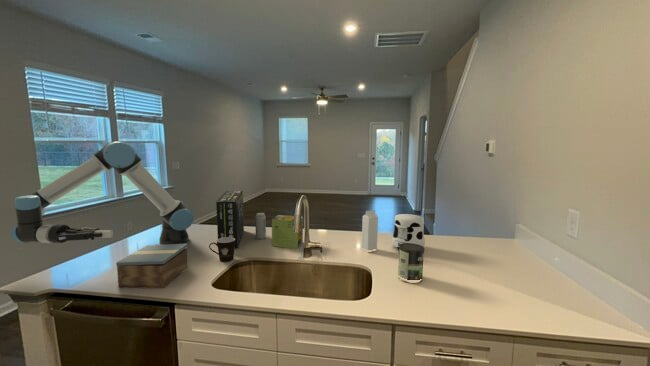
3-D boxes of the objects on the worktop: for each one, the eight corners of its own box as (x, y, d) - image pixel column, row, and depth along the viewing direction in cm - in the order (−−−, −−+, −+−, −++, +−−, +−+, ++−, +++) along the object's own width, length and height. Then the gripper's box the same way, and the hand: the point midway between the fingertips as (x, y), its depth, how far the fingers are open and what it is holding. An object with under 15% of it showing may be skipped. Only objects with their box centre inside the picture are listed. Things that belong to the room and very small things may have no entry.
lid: (116, 265, 116) (116, 262, 116) (147, 247, 136) (147, 244, 136) (163, 263, 116) (163, 260, 116) (188, 246, 136) (187, 243, 136)
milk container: (419, 244, 175) (420, 213, 172) (428, 254, 157) (430, 221, 155) (389, 243, 175) (390, 213, 173) (395, 254, 158) (396, 220, 156)
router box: (226, 231, 195) (225, 190, 191) (244, 230, 197) (243, 190, 193) (216, 250, 160) (215, 200, 157) (238, 249, 162) (237, 200, 159)
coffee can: (425, 276, 131) (427, 245, 129) (418, 286, 122) (420, 252, 120) (402, 271, 136) (403, 241, 134) (394, 279, 127) (395, 247, 126)
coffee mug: (239, 257, 150) (238, 238, 148) (228, 264, 142) (227, 243, 140) (219, 254, 153) (219, 235, 152) (208, 260, 145) (207, 240, 144)
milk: (361, 249, 164) (362, 210, 161) (370, 248, 167) (371, 209, 164) (367, 253, 159) (368, 212, 156) (377, 251, 161) (378, 211, 159)
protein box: (298, 248, 165) (298, 220, 163) (271, 246, 168) (271, 219, 166) (303, 242, 175) (303, 216, 173) (278, 240, 178) (278, 214, 176)
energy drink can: (257, 236, 185) (256, 212, 183) (266, 236, 185) (266, 212, 183) (254, 239, 179) (254, 214, 177) (264, 239, 179) (264, 215, 177)
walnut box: (118, 287, 117) (116, 265, 116) (148, 266, 137) (147, 247, 136) (164, 288, 117) (163, 266, 116) (187, 267, 137) (187, 248, 136)
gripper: (69, 237, 132) (122, 237, 132) (41, 247, 119) (100, 248, 119) (67, 220, 131) (121, 221, 131) (39, 229, 118) (98, 229, 118)
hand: (111, 234), depth 125 cm, fingers closed
